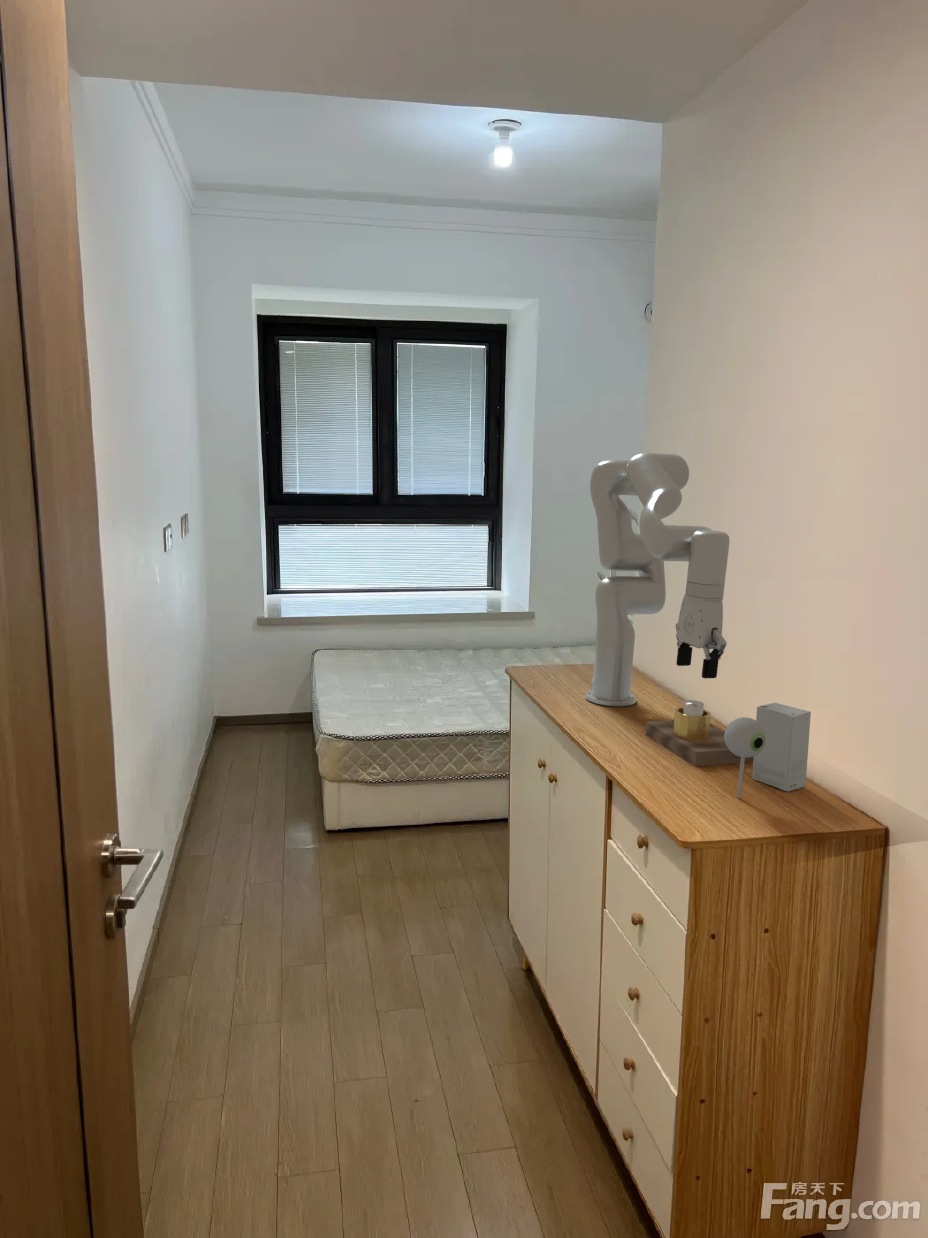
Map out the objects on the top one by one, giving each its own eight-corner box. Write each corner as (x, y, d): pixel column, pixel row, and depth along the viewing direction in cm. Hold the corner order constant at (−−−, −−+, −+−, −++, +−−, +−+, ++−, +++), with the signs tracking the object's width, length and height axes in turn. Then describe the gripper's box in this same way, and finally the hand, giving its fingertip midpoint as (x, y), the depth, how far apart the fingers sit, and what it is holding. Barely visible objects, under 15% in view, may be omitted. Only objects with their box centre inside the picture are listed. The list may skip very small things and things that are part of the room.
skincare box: (805, 787, 158) (815, 712, 156) (785, 793, 155) (795, 716, 152) (768, 773, 165) (776, 700, 163) (748, 778, 162) (756, 704, 159)
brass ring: (666, 730, 180) (668, 707, 179) (696, 728, 182) (698, 706, 181) (684, 741, 173) (687, 717, 172) (715, 739, 175) (717, 716, 175)
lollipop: (736, 807, 147) (745, 725, 145) (709, 792, 154) (717, 714, 151) (767, 802, 150) (777, 722, 148) (740, 788, 157) (748, 711, 154)
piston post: (677, 732, 179) (680, 700, 178) (694, 731, 180) (697, 700, 179) (687, 738, 175) (690, 706, 174) (704, 737, 176) (707, 705, 175)
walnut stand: (645, 734, 186) (646, 721, 186) (700, 731, 190) (701, 718, 190) (694, 766, 167) (696, 752, 167) (754, 762, 171) (756, 748, 171)
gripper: (666, 583, 179) (659, 661, 183) (712, 598, 163) (703, 683, 166) (697, 583, 181) (689, 660, 185) (745, 598, 165) (735, 682, 169)
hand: (695, 671), depth 176 cm, fingers open, 9 cm apart
